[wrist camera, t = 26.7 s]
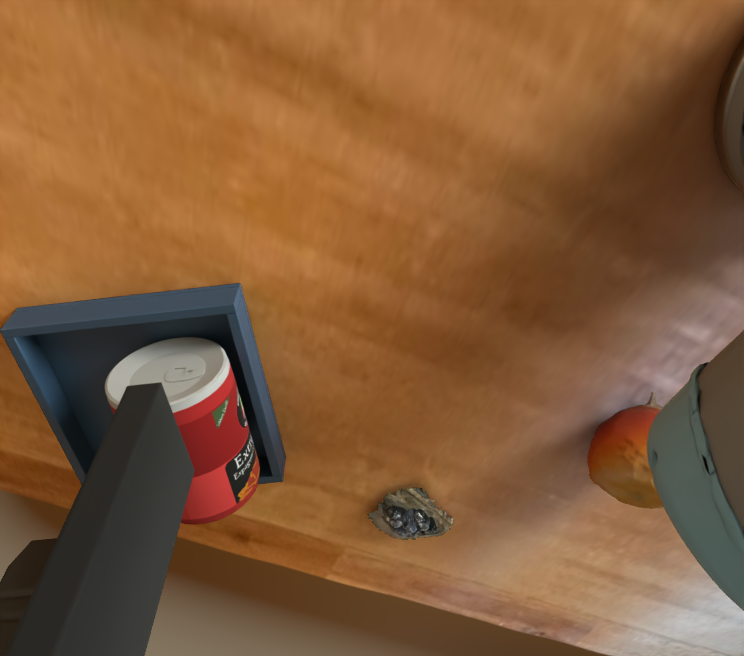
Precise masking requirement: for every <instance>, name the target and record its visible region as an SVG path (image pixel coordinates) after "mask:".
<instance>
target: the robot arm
mask: <svg viewBox="0 0 744 656" xmlns="http://www.w3.org/2000/svg"><path fill="white" fill-rule="evenodd" d="M715 140H716V146H717V151H718V155H719V157H720V160H721V163H722V165H723V167H724V169H725V171H726V173H727V175H728V176H729V177H730V179H731V180H732V182H733V183H734V184H735V185H736V186H737V187H738V188H739V189H740V190H741V191H742V192H744V37H743V39H742V41H741V42H740V44H739V46H738V47H737V49H736V51H735V53H734V55H733V57H732V59H731V61H730V63H729V65H728V68H727V70H726V73H725V75H724V78H723V81H722V84H721V87H720V91H719V95H718V100H717V104H716V112H715ZM647 455H648V463H649V466H650V469H651V472H652V475H653V482H654V485H655V488H656V490H657V493H658V495H659V497H660V500H661V502H662V504H663V506H664V508H665V510H666V512H667V514H668V516H669V518H670V520H671V521H672V523H673V525H674V527H675V528H676V530H677V532H678V533H679V535H680V536H681V538H682V539H683V541H684V542H685V544H686V545H687V547H688V548H689V550H690V551H691V553H692V554H693V555H694V557H695V558H696V559H697V561H698V562H699V564H700V565H701V566H702V567H703V569H704V570H705V571H706V572H707V574H708V575H709V576H710V577H711V578H712V580H713V581H714V582H715V583H716V584H717V585H718V586H719V588H720V589H721V590H722V591H723V592H724V593H725V594H726V595H727V596H728V597H729V598H730V599H731V600H732V601H734V602H735V603H736V604H737V605H738V606H739V607H740V608H741V609H742V610H744V331H742V332H741V333H740V334H739V335H738V336H737V337H736V338H735V339H734V340H733V341H732V342H731V343H730V344H729V345H728V346H726V347H725V348H724V349H723V350H722V351H721V352H720V353H719V354H718V355H717V356H716V357H715V358H714V359H713V360H711V361H710V362H707V363H704V364H700V365H699V366H698V367H697V368H696V369H695V370H694V371H693V372H692V374H691V377H690V380H689V382H688V383H687V384H686V385H685V386H684V387H683V388H682V389H681V390H680V391H679V392H678V393H677V394H676V395H675V396H674V397H673V398H672V399H671V400H670V401H669V402H668V403H667V404H666V405H665V407H664V408H663V409H662V410H661V411H660V412H659V413H658V414H657V416H656V417H655V418H654V420H653V422H652V424H651V426H650V429H649V433H648V439H647ZM194 471H195V470H194V467H193V464H192V462H191V459H190V456H189V454H188V451H187V448H186V446H185V443H184V441H183V438H182V435H181V433H180V430H179V427H178V425H177V422H176V420H175V417H174V414H173V412H172V409H171V406H170V404H169V401H168V399H167V396H166V393H165V391H164V388H163V385H162V383H161V382H159V383H149V384H140V385H131V386H127V387H126V389H125V392H124V394H123V396H122V398H121V400H120V402H119V405H118V407H117V409H116V411H115V413H114V416H113V418H112V420H111V422H110V424H109V427H108V429H107V431H106V433H105V435H104V438H103V440H102V442H101V444H100V446H99V448H98V451H97V453H96V455H95V457H94V459H93V462H92V464H91V466H90V468H89V470H88V473H87V475H86V477H85V479H84V481H83V483H82V486H81V488H80V490H79V492H78V494H77V497H76V499H75V501H74V503H73V505H72V508H71V510H70V512H69V514H68V516H67V519H66V521H65V523H64V525H63V527H62V530H61V532H60V534H59V536H58V538H55V539H46V540H35V541H31V542H30V543H29V544H28V545H27V547H26V548H25V549H24V550H23V551H22V552H21V553H20V554H19V555H18V557H17V558H15V560H14V561H13V562H12V563H11V564H10V565H9V566H8V568H7V570H6V572H5V574H4V576H3V578H2V580H1V582H0V656H144V655H145V652H146V648H147V644H148V640H149V637H150V633H151V629H152V626H153V622H154V618H155V615H156V611H157V607H158V603H159V600H160V596H161V593H162V589H163V585H164V582H165V578H166V574H167V570H168V567H169V563H170V559H171V556H172V552H173V549H174V544H175V541H176V538H177V534H178V530H179V527H180V523H181V519H182V516H183V512H184V508H185V505H186V501H187V497H188V494H189V490H190V486H191V482H192V479H193V475H194Z"/></svg>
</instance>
